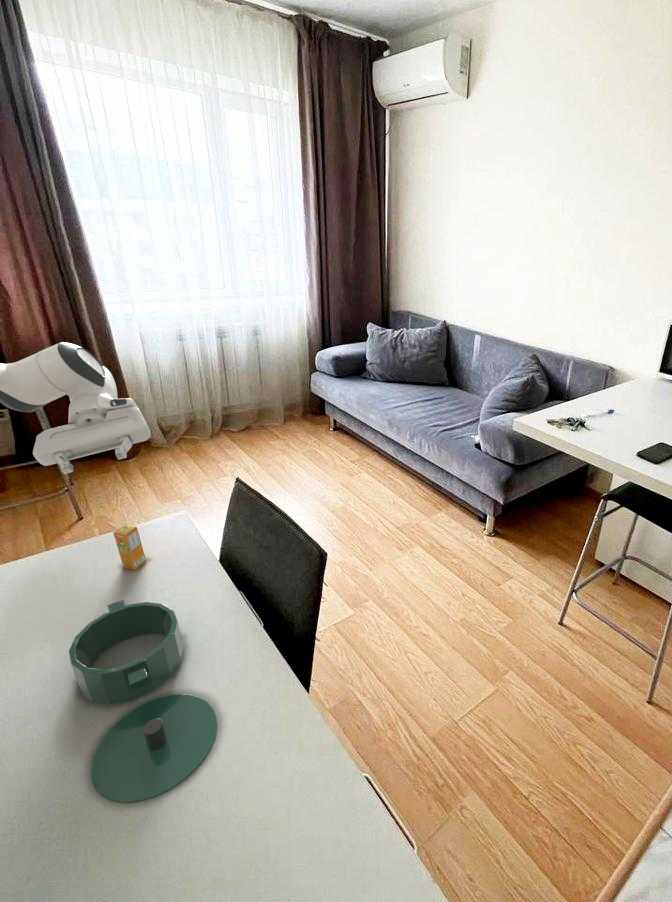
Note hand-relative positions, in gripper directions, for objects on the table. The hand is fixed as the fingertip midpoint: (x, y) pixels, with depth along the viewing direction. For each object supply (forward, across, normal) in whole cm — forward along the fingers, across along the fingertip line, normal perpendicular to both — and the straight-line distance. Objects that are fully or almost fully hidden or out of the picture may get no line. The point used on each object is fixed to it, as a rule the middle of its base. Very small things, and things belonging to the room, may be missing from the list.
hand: (94, 463), depth 98 cm
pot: (+40, +1, +11) cm, 41 cm away
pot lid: (+55, +6, +6) cm, 56 cm away
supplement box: (+13, -1, +20) cm, 24 cm away
